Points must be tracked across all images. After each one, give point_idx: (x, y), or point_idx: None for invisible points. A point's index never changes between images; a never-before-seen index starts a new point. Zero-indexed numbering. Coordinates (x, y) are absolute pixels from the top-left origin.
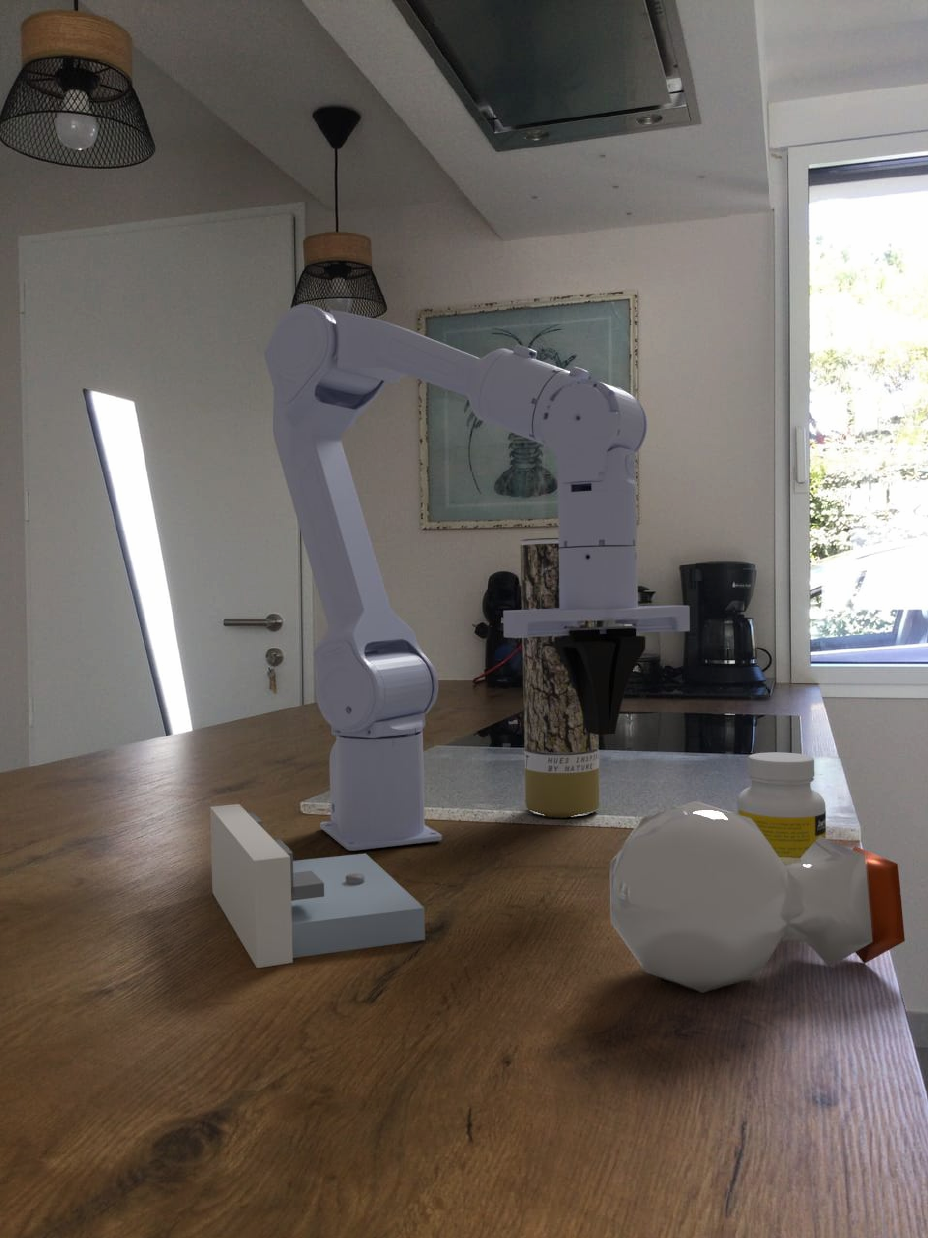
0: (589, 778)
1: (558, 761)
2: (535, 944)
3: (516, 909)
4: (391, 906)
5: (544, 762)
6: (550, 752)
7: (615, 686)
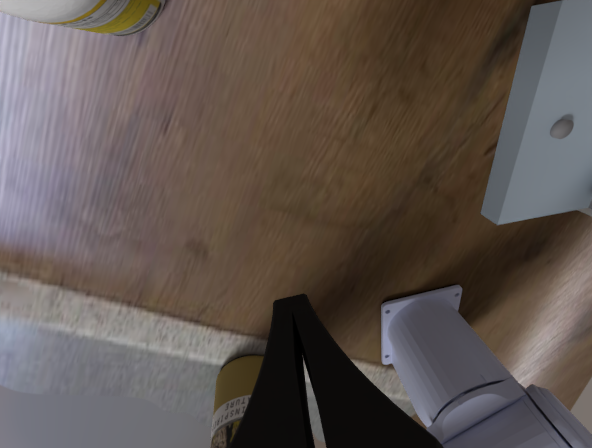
0: (229, 393)
1: None
2: None
3: (409, 85)
4: (585, 19)
5: None
6: None
7: (290, 370)
